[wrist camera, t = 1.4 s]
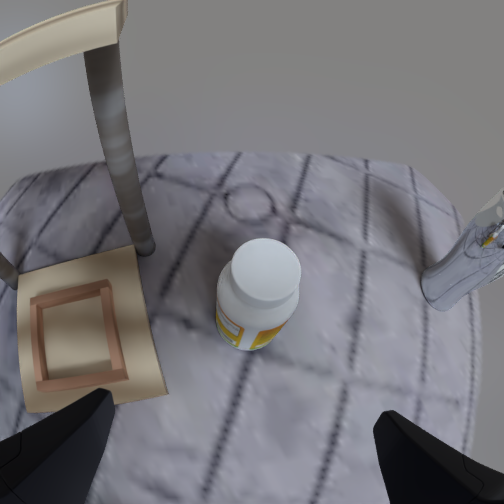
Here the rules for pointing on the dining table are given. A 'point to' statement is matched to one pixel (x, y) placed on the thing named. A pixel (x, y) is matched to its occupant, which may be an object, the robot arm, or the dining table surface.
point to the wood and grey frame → (94, 266)
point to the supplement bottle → (257, 293)
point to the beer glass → (469, 258)
